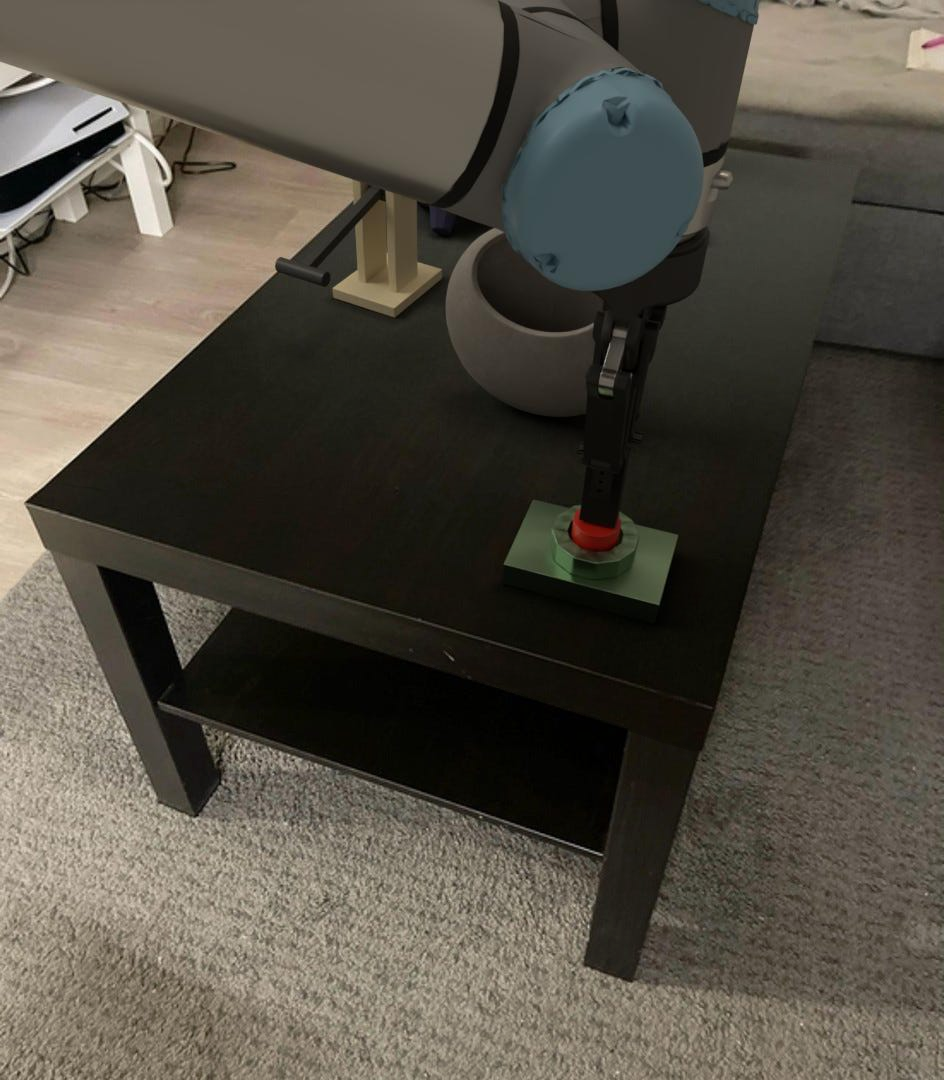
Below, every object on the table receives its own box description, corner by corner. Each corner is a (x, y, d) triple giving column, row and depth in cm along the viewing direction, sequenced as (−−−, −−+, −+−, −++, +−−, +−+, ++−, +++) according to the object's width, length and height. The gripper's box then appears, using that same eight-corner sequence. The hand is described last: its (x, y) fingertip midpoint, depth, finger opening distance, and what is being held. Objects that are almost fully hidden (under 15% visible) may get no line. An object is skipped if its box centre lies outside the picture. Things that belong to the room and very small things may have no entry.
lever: (324, 294, 91) (319, 273, 89) (278, 278, 93) (272, 258, 91) (416, 191, 99) (412, 170, 97) (371, 179, 101) (367, 158, 99)
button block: (502, 584, 74) (504, 547, 71) (531, 518, 80) (534, 482, 77) (654, 624, 72) (663, 588, 69) (673, 554, 77) (682, 518, 74)
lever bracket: (394, 318, 102) (390, 192, 92) (332, 297, 105) (322, 173, 95) (442, 278, 108) (443, 157, 99) (382, 260, 111) (377, 140, 102)
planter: (431, 410, 90) (431, 221, 77) (457, 371, 95) (461, 186, 82) (623, 456, 86) (657, 264, 73) (640, 412, 91) (675, 225, 78)
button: (565, 546, 72) (568, 529, 71) (577, 516, 75) (580, 499, 74) (612, 558, 72) (615, 541, 70) (622, 527, 74) (626, 510, 73)
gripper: (691, 282, 50) (629, 589, 67) (727, 184, 59) (664, 476, 76) (554, 256, 52) (526, 563, 68) (608, 165, 61) (572, 455, 77)
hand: (599, 517), depth 72 cm, fingers closed
